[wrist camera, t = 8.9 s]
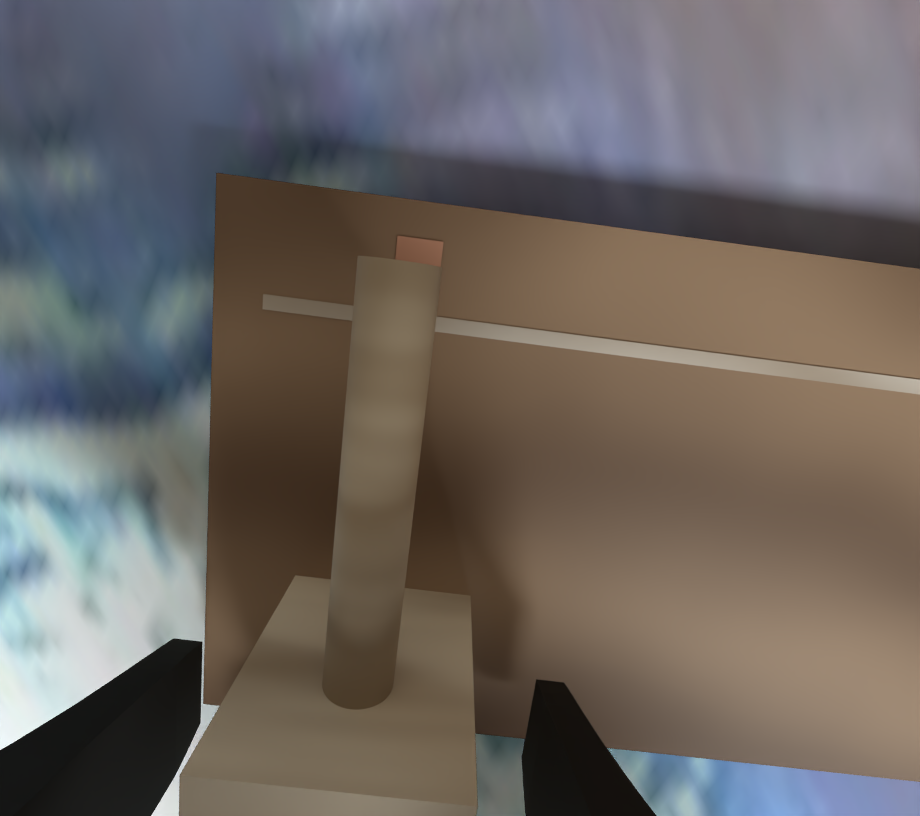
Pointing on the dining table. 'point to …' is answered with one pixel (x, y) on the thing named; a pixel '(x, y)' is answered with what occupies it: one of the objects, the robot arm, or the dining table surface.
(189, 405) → the dining table surface
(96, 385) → the dining table surface
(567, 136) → the dining table surface
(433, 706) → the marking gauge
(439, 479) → the tan wooden flat board
